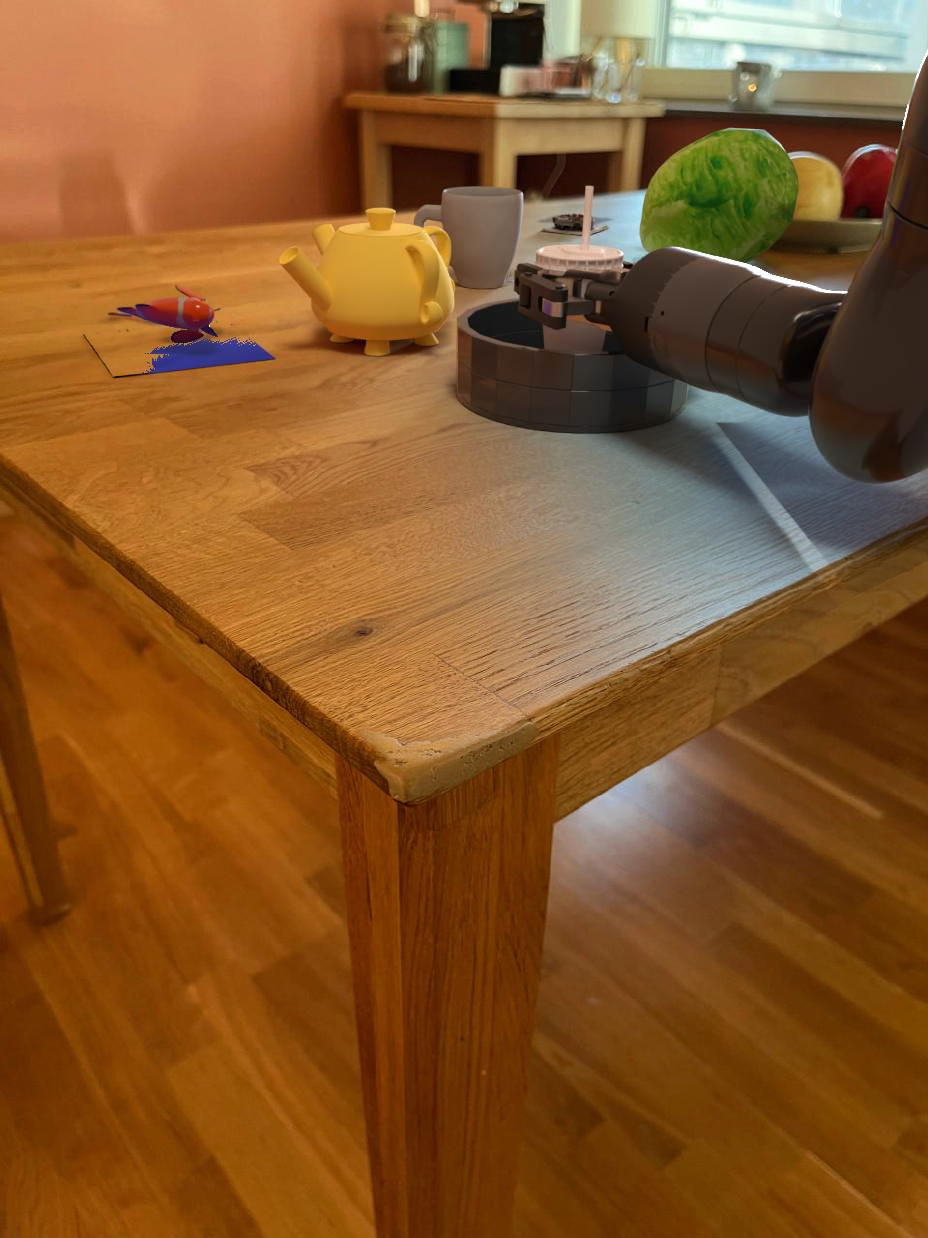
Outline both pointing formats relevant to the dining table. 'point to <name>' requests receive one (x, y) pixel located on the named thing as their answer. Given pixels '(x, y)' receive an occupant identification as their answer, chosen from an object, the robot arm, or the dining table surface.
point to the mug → (479, 232)
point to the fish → (189, 334)
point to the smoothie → (582, 256)
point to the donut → (572, 224)
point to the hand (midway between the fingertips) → (561, 274)
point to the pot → (555, 378)
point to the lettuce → (722, 196)
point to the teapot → (377, 281)
